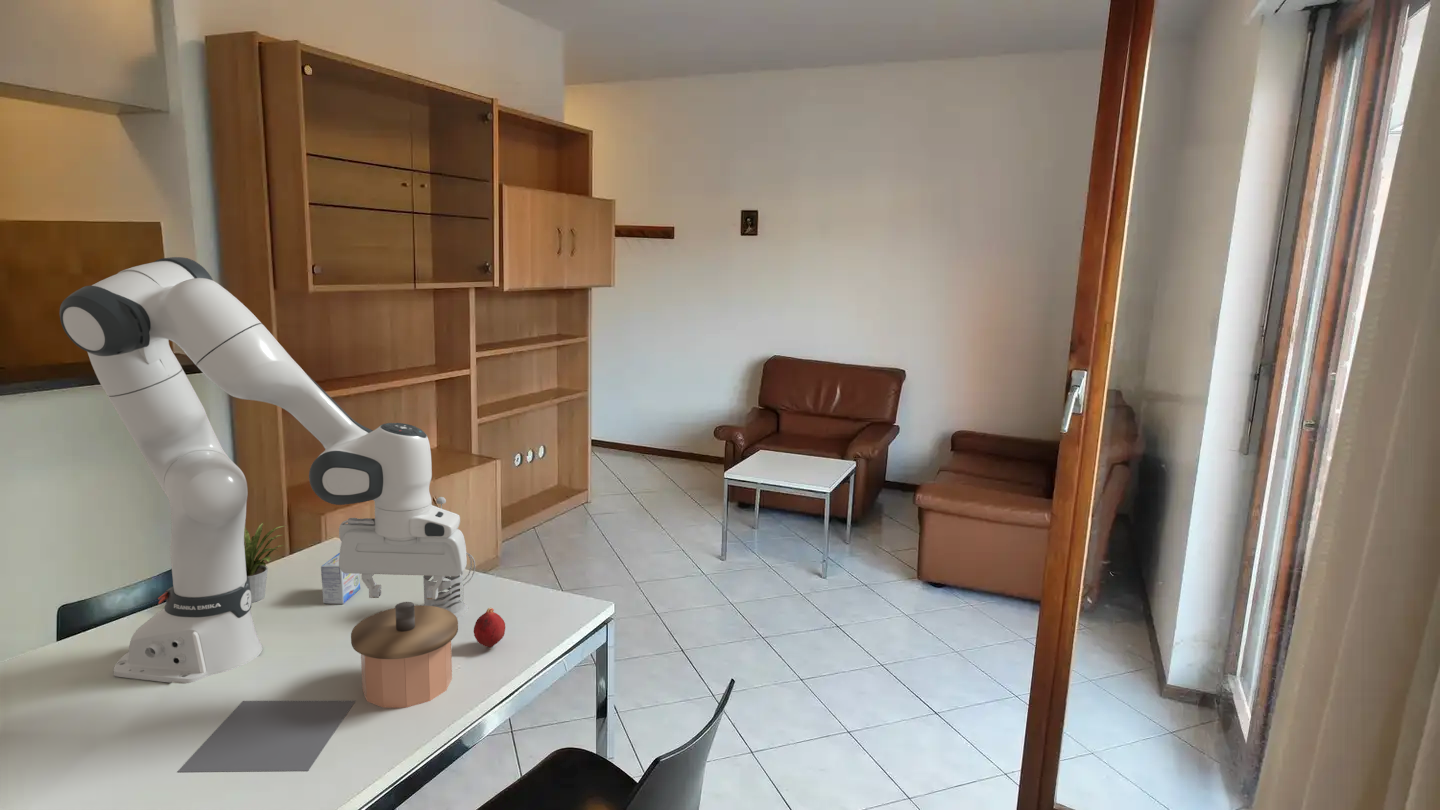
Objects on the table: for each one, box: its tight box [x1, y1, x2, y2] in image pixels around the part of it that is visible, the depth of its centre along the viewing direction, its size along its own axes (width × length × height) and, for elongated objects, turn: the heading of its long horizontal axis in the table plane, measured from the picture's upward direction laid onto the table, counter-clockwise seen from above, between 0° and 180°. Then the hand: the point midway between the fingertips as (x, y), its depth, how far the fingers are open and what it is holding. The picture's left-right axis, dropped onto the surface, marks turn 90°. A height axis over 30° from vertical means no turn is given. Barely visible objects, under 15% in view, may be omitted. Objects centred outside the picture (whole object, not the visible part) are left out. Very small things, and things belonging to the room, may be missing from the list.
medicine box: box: [320, 552, 361, 605], centre depth 169 cm, size 8×4×9 cm, turn 179°
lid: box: [350, 601, 459, 659], centre depth 134 cm, size 17×17×5 cm
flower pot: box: [360, 640, 453, 709], centre depth 135 cm, size 14×14×10 cm
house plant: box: [244, 522, 287, 604], centre depth 166 cm, size 14×14×16 cm
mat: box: [176, 700, 356, 773], centre depth 121 cm, size 18×18×1 cm
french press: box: [423, 496, 476, 619], centre depth 163 cm, size 10×12×25 cm
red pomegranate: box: [473, 607, 506, 649], centre depth 150 cm, size 6×6×8 cm
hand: (403, 597), depth 133 cm, fingers open, 8 cm apart
